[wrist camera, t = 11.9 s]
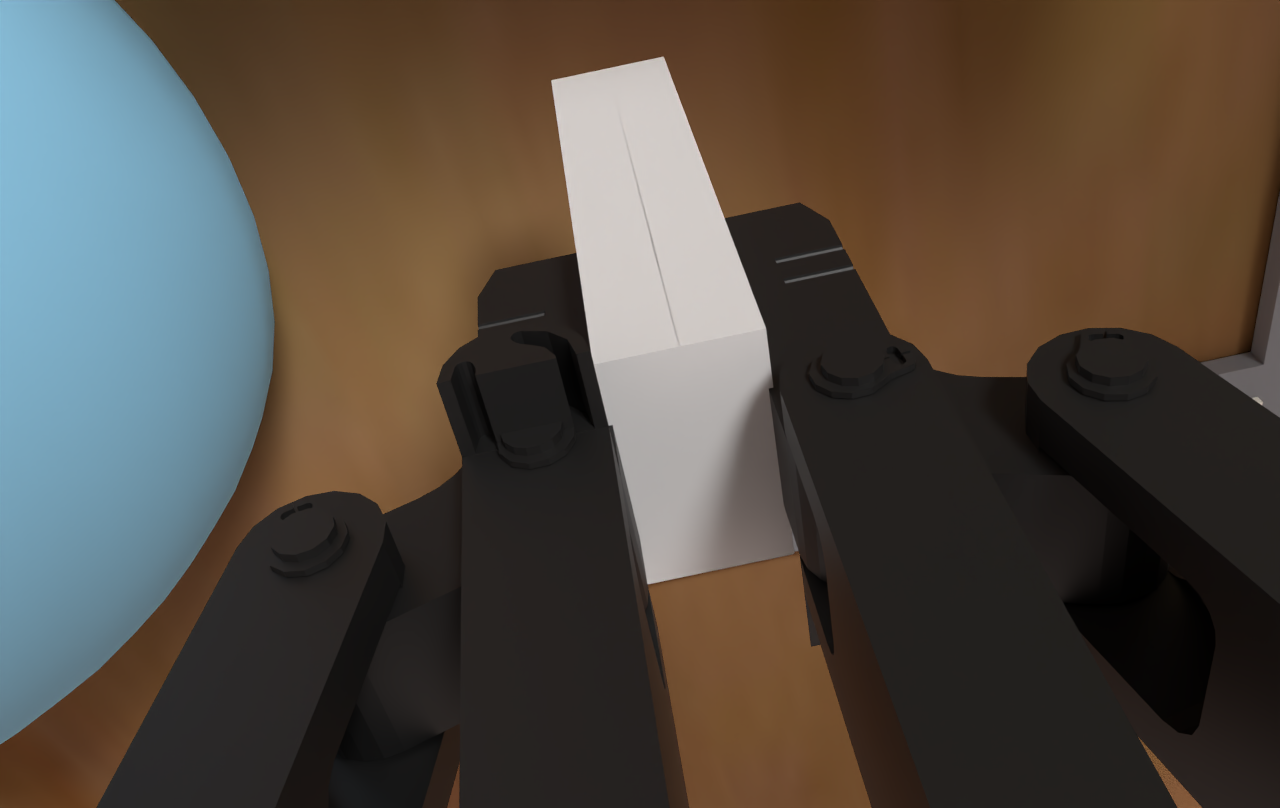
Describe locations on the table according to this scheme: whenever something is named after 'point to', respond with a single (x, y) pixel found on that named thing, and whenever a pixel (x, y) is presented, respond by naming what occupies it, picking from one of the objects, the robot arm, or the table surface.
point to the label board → (1256, 342)
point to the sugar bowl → (112, 340)
